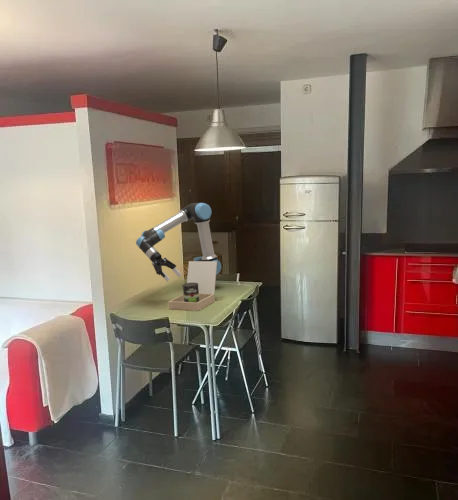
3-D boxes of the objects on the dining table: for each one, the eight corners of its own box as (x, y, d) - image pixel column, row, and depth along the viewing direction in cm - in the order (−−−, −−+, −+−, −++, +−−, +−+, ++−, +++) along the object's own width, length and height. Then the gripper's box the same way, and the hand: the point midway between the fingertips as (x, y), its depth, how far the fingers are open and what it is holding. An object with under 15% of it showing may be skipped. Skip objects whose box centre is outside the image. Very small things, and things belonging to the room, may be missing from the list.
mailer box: (192, 296, 318) (189, 261, 314) (220, 298, 308) (217, 261, 304) (169, 308, 292) (164, 269, 288) (198, 310, 282) (194, 270, 278)
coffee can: (201, 306, 293) (199, 284, 290) (185, 308, 291) (183, 286, 289) (199, 302, 303) (197, 281, 300) (183, 304, 301) (181, 283, 299)
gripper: (161, 255, 316) (181, 277, 311) (139, 262, 294) (160, 286, 289) (167, 248, 313) (187, 270, 308) (145, 254, 291) (166, 278, 286)
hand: (174, 277), depth 299 cm, fingers open, 13 cm apart
